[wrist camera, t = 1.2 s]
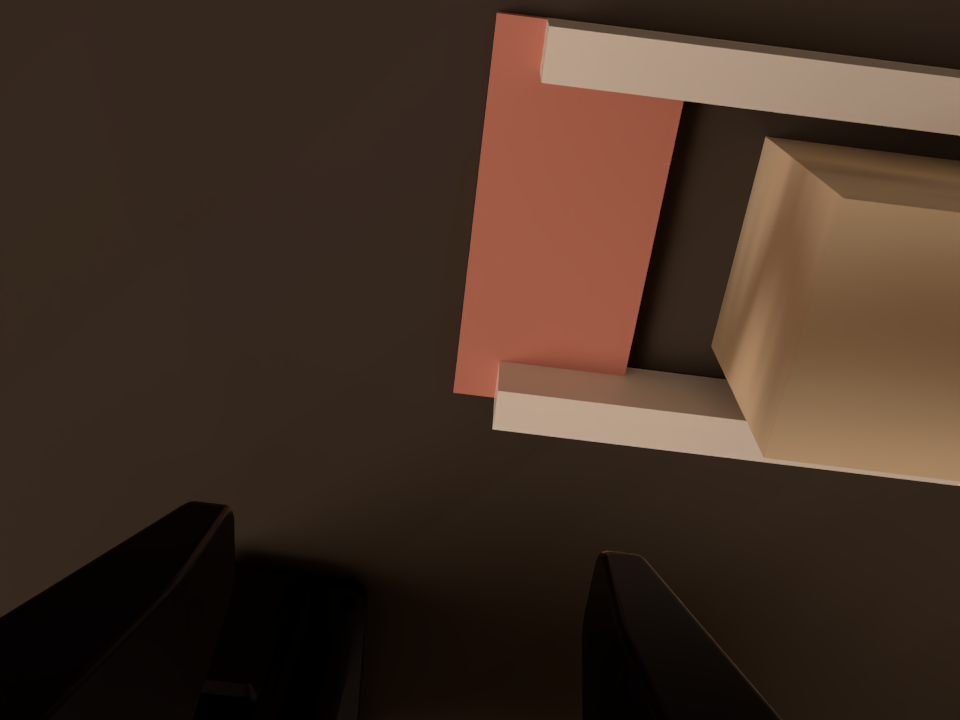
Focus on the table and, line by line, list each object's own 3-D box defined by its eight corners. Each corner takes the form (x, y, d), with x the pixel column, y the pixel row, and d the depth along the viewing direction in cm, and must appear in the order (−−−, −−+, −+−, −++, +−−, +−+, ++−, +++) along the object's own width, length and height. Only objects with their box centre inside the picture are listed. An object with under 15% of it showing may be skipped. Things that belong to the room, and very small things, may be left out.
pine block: (915, 370, 21) (1026, 489, 16) (710, 345, 20) (763, 458, 16) (994, 164, 18) (1147, 236, 14) (764, 135, 18) (843, 198, 14)
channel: (1248, 479, 21) (1314, 528, 20) (454, 383, 21) (448, 423, 19) (1462, 133, 18) (1569, 155, 16) (497, 11, 17) (494, 18, 16)
